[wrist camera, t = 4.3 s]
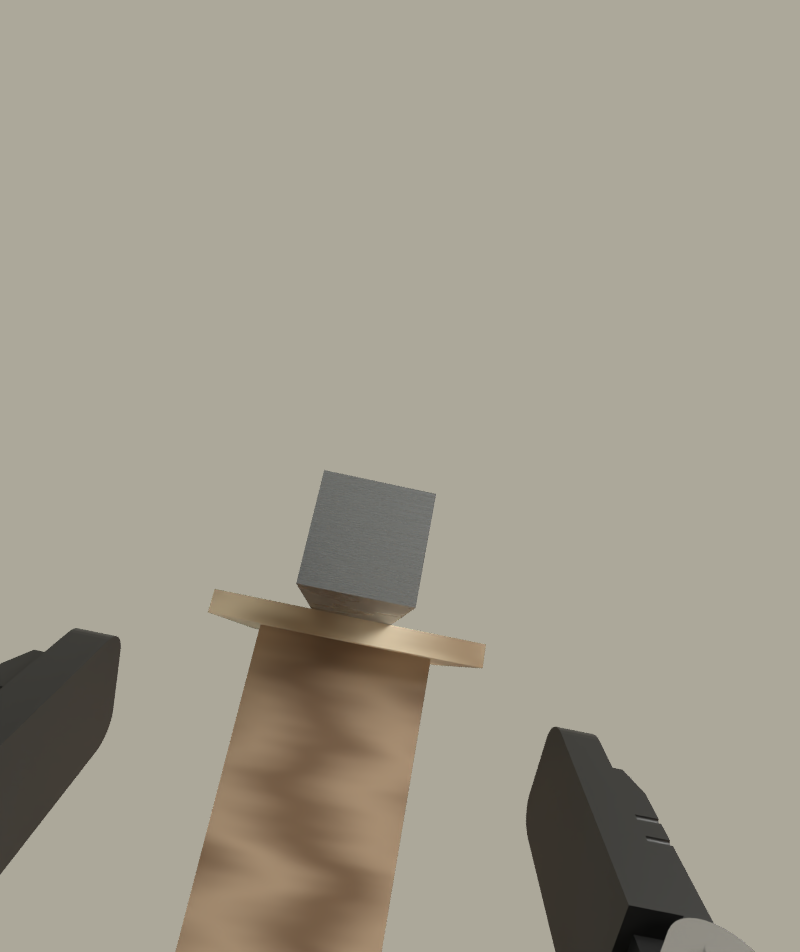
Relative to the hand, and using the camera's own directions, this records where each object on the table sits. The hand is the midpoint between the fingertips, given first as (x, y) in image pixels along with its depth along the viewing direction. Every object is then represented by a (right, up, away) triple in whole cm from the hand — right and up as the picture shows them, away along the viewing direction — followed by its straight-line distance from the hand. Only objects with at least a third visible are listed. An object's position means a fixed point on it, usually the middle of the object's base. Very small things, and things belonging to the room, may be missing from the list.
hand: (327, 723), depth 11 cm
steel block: (-1, -3, +18) cm, 18 cm away
